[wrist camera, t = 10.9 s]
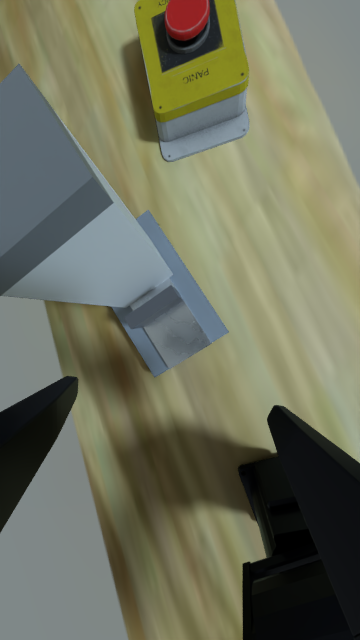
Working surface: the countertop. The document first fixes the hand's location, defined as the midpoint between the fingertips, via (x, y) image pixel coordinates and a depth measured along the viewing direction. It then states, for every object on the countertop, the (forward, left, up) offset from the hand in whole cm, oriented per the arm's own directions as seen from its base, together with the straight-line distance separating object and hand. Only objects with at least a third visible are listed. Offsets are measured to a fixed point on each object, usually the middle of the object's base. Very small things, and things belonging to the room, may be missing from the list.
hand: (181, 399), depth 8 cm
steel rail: (+7, +2, -10) cm, 13 cm away
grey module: (+10, +3, -10) cm, 14 cm away
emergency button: (+27, -10, -12) cm, 31 cm away
